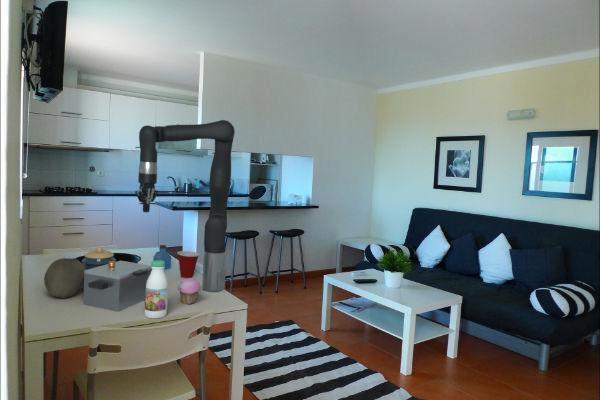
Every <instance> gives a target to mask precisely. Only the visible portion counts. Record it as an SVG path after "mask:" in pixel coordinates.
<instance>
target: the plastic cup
mask: <svg viewBox="0 0 600 400" xmlns="http://www.w3.org/2000/svg"><path fill="white" fill-rule="evenodd" d="M200 256H201V254H200V253H199V252H196V251H195V252H194V251H186V250H183V251H182V250H181V251H177V259H178V265H179V275H180V277H181V278H183V279H186V278H193V277H194V275H195V271H196V266H197V262H198V259H199V257H200Z"/></svg>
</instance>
